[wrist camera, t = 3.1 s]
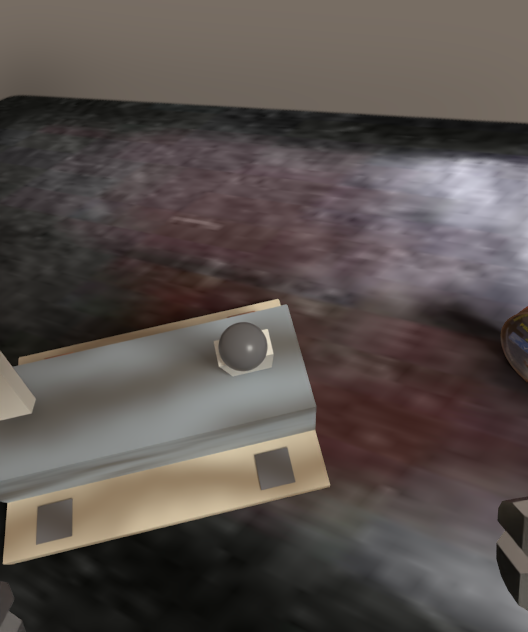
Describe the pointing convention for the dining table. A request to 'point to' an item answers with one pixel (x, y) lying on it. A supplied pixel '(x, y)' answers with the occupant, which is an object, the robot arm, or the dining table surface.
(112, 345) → the switch box
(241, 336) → the lever
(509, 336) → the tin
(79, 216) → the dining table surface
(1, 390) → the lever
